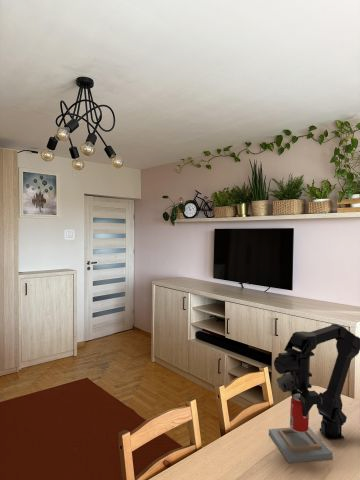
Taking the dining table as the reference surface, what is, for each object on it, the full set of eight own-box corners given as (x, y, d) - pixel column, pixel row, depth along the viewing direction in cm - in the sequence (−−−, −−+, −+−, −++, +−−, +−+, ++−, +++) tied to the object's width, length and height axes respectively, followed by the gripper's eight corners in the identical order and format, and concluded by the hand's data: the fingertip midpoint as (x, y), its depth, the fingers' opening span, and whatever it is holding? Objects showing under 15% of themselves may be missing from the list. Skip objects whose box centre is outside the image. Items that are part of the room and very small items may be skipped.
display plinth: (308, 431, 133) (308, 423, 133) (332, 458, 117) (332, 449, 117) (268, 434, 131) (269, 426, 131) (288, 462, 115) (288, 453, 115)
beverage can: (309, 435, 121) (311, 402, 120) (291, 433, 122) (292, 400, 121) (306, 425, 127) (307, 393, 126) (288, 423, 128) (289, 391, 127)
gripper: (269, 359, 131) (268, 399, 132) (292, 381, 113) (291, 428, 113) (296, 358, 133) (295, 397, 133) (323, 379, 114) (322, 425, 115)
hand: (299, 411), depth 124 cm, fingers closed on beverage can, 6 cm apart
